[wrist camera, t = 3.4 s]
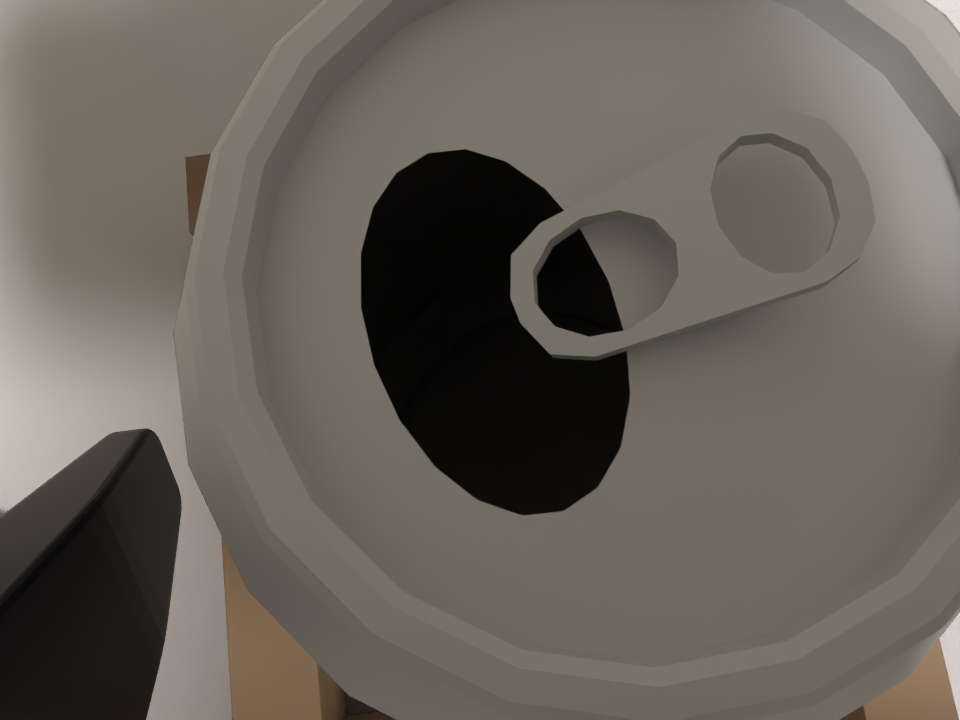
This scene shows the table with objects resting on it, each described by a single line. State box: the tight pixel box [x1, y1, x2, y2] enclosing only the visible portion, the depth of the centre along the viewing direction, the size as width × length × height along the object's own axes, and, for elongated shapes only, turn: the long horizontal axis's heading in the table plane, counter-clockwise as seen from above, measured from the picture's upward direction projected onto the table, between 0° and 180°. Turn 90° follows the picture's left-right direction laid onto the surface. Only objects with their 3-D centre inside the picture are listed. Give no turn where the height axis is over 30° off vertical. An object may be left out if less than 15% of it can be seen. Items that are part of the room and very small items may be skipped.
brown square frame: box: [186, 154, 959, 720], centre depth 16 cm, size 12×12×3 cm
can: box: [174, 0, 960, 720], centre depth 12 cm, size 8×8×12 cm
